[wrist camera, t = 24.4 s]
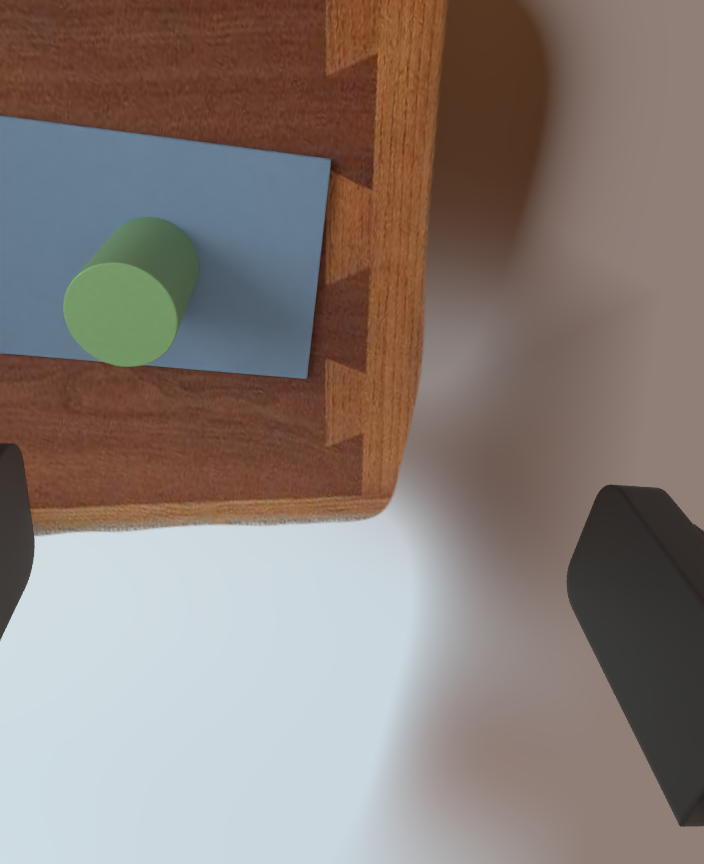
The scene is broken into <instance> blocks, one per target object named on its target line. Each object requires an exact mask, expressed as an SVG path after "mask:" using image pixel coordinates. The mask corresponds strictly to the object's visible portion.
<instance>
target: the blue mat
mask: <svg viewBox="0 0 704 864" xmlns="http://www.w3.org/2000/svg"><path fill="white" fill-rule="evenodd" d="M330 167H331V159H330V158H322V157H314V156H307V155H299V154H292V153H284V152H277V151H269V150H261V149H254V148H246V147H239V146H231V145H224V144H216V143H208V142H201V141H193V140H186V139H178V138H170V137H163V136H155V135H148V134H140V133H133V132H125V131H117V130H110V129H102V128H95V127H87V126H80V125H72V124H64V123H57V122H49V121H42V120H34V119H27V118H19V117H11V116H4V115H0V353H4V354H16V355H28V356H40V357H51V358H63V359H75V360H87V361H99V362H103V361H101V360H99V359H97V358H95V357H93V356H92V355H90V354H89V353H88V352H86V351H85V350H84V349H83V348H82V347H81V346H80V345H79V344H78V343H77V342H76V340H75V339H74V338H73V336H72V335H71V333H70V331H69V329H68V327H67V324H66V321H65V318H64V312H63V303H64V296H65V293H66V290H67V288H68V286H69V284H70V283H71V281H72V280H73V278H74V277H75V276H76V275H77V274H78V273H79V272H80V271H81V269H82V268H83V267H84V266H85V265H86V264H87V263H88V261H89V260H90V259H91V258H92V257H93V256H94V255H95V254H96V252H97V251H98V250H99V249H100V248H101V247H102V246H103V245H104V243H105V242H106V241H107V240H108V239H109V238H110V237H111V235H112V234H113V233H114V232H115V231H116V230H117V229H118V228H119V227H120V226H121V225H123V224H124V223H126V222H128V221H130V220H132V219H136V218H140V217H154V218H159V219H162V220H165V221H168V222H170V223H172V224H173V225H175V226H177V227H178V228H179V229H181V230H182V231H183V232H184V233H185V234H186V235H187V236H188V238H189V239H190V240H191V242H192V244H193V245H194V247H195V250H196V252H197V255H198V260H199V274H198V279H197V281H196V284H195V287H194V289H193V292H192V295H191V297H190V300H189V303H188V305H187V308H186V311H185V313H184V316H183V319H182V321H181V324H180V327H179V330H178V332H177V335H176V337H175V340H174V342H173V344H172V346H171V347H170V348H169V350H168V351H167V352H166V353H165V354H164V355H163V356H161V357H160V358H159V359H157V360H155V361H153V362H151V363H148V364H146V365H147V366H158V367H170V368H182V369H194V370H206V371H218V372H230V373H242V374H253V375H265V376H277V377H289V378H301V379H307V374H308V365H309V356H310V347H311V338H312V329H313V320H314V311H315V302H316V293H317V284H318V275H319V266H320V257H321V248H322V239H323V230H324V221H325V212H326V203H327V194H328V185H329V176H330Z"/></svg>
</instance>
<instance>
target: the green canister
mask: <svg viewBox="0 0 704 864" xmlns="http://www.w3.org/2000/svg"><path fill="white" fill-rule="evenodd" d="M198 274H199V260H198V255H197V252H196V250H195V247H194V245H193V244H192V242H191V240H190V239H189V238H188V236H187V235H186V234H185V233H184V232H183V231H182V230H181V229H179V228H178V227H177V226H175V225H173V224H172V223H170V222H168V221H165V220H162V219H159V218H154V217H140V218H136V219H132V220H130V221H128V222H126V223H124V224H123V225H121V226H120V227H119V228H118V229H117V230H116V231H115V232H114V233H113V234H112V235H111V237H110V238H109V239H108V240H107V241H106V242H105V243H104V245H103V246H102V247H101V248H100V249H99V250H98V251H97V252H96V254H95V255H94V256H93V257H92V258H91V259H90V260H89V261H88V263H87V264H86V265H85V266H84V267H83V268H82V269H81V271H80V272H79V273H78V274H77V275H76V276H75V277H74V278H73V280H72V281H71V283H70V284H69V286H68V288H67V290H66V293H65V296H64V303H63V312H64V318H65V321H66V324H67V327H68V329H69V331H70V333H71V335H72V336H73V338H74V339H75V340H76V342H77V343H78V344H79V345H80V346H81V347H82V348H83V349H84V350H85V351H86V352H88V353H89V354H90V355H92V356H93V357H95V358H97V359H99V360H101V361H103V362H105V363H108V364H111V365H115V366H122V367H136V366H142V365H146V364H148V363H151V362H153V361H155V360H157V359H159V358H160V357H161V356H163V355H164V354H165V353H166V352H167V351H168V350H169V348H170V347H171V346H172V344H173V342H174V340H175V337H176V335H177V332H178V330H179V327H180V324H181V321H182V319H183V316H184V313H185V311H186V308H187V305H188V303H189V300H190V297H191V295H192V292H193V289H194V287H195V284H196V281H197V279H198Z"/></svg>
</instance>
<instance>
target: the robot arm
mask: <svg viewBox="0 0 704 864" xmlns="http://www.w3.org/2000/svg"><path fill="white" fill-rule="evenodd" d="M33 557H34V532H33V525H32V518H31V511H30V504H29V497H28V490H27V483H26V476H25V469H24V462H23V457H22V453H21V451H20V449H19V447H18V446H17V445H15V444H9V443H0V639H1V637H2V635H3V633H4V631H5V629H6V627H7V625H8V623H9V620H10V619H11V616H12V614H13V612H14V610H15V608H16V606H17V604H18V602H19V600H20V598H21V595H22V593H23V591H24V589H25V587H26V585H27V582H28V580H29V577H30V573H31V569H32V564H33ZM567 573H568V574H567V592H568V597H569V601H570V604H571V606H572V609H573V611H574V613H575V615H576V617H577V619H578V621H579V623H580V625H581V627H582V629H583V631H584V633H585V635H586V637H587V639H588V641H589V643H590V645H591V647H592V649H593V651H594V654H595V655H596V658H597V660H598V662H599V664H600V666H601V667H602V670H603V672H604V674H605V676H606V678H607V680H608V682H609V684H610V686H611V688H612V690H613V692H614V694H615V696H616V698H617V700H618V702H619V704H620V706H621V708H622V710H623V712H624V714H625V716H626V718H627V720H628V722H629V724H630V726H631V728H632V730H633V732H634V734H635V736H636V738H637V740H638V742H639V744H640V746H641V749H642V750H643V752H644V755H645V757H646V759H647V761H648V763H649V765H650V767H651V769H652V771H653V773H654V775H655V777H656V779H657V781H658V783H659V785H660V787H661V789H662V791H663V793H664V795H665V797H666V799H667V801H668V803H669V805H670V807H671V809H672V811H673V813H674V815H675V817H676V819H677V821H678V823H679V825H680V826H704V531H703V530H701V529H700V528H698V527H697V526H696V525H694V524H692V522H690V520H689V519H688V518H687V516H686V515H685V514H684V513H683V512H682V510H681V509H680V508H679V507H678V506H677V504H676V503H675V502H674V501H673V499H672V498H671V497H670V496H669V495H668V494H667V493H666V492H665V491H664V490H662V489H660V488H652V487H636V486H622V485H607V486H605V487H603V488H602V489H601V490H600V491H599V493H598V495H597V497H596V499H595V501H594V504H593V506H592V509H591V511H590V514H589V516H588V518H587V521H586V523H585V526H584V528H583V531H582V533H581V536H580V538H579V541H578V543H577V546H576V548H575V551H574V553H573V556H572V559H571V561H570V564H569V567H568V572H567Z"/></svg>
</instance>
